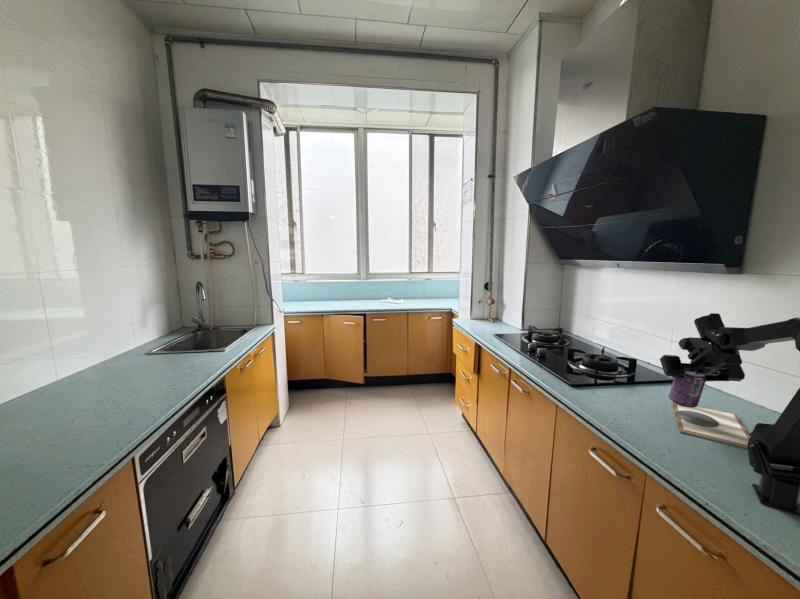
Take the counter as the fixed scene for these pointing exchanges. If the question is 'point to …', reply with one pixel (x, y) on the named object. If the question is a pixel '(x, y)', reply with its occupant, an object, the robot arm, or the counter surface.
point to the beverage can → (687, 389)
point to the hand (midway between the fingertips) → (686, 378)
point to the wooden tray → (711, 425)
